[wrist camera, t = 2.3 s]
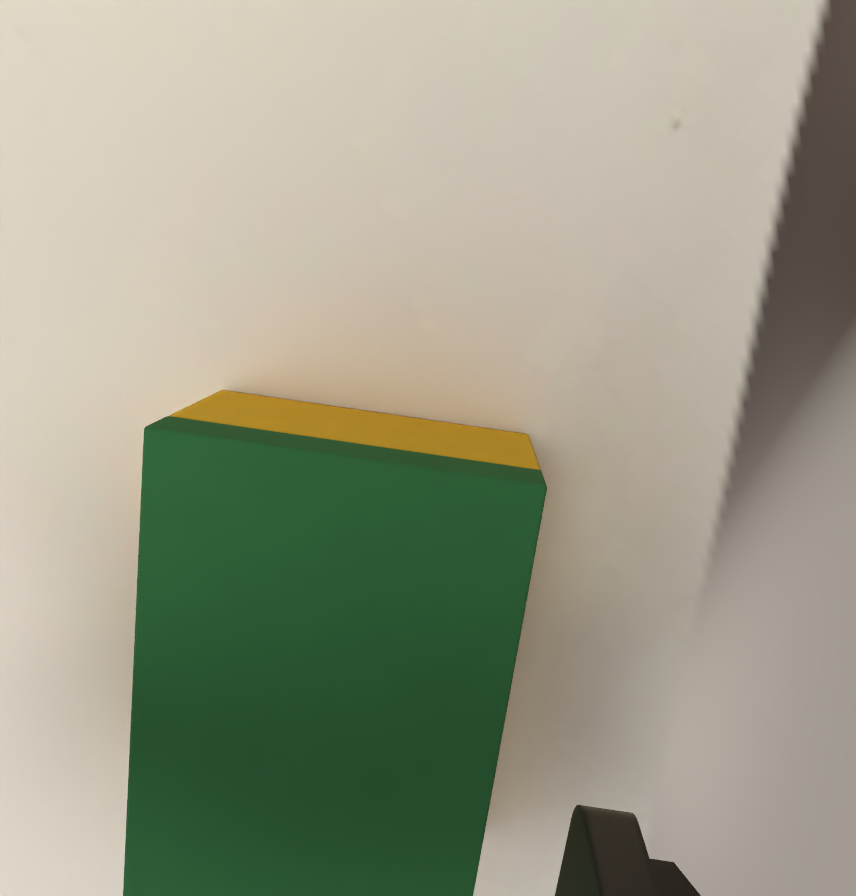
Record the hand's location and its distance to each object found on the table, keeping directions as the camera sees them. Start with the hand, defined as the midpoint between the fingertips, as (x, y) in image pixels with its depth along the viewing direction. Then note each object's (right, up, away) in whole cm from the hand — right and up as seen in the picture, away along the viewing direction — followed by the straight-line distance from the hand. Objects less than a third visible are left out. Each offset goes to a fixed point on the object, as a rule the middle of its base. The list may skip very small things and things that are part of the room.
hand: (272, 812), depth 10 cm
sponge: (+1, +1, +5) cm, 6 cm away
